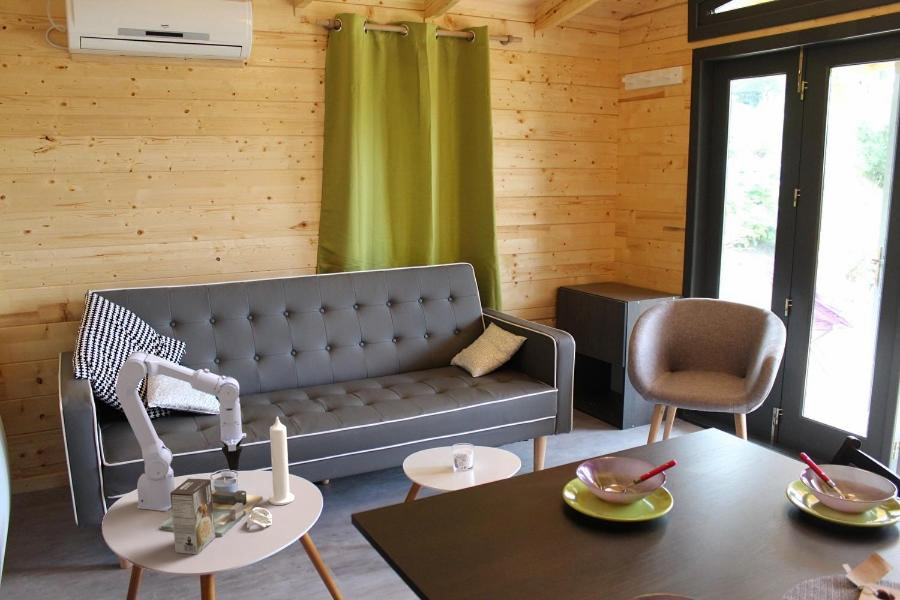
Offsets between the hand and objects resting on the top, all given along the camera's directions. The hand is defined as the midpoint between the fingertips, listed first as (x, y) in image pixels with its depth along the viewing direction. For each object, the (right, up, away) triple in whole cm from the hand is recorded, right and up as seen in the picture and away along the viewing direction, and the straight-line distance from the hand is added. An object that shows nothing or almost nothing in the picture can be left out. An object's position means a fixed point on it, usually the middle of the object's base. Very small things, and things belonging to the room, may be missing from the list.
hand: (233, 466), depth 218 cm
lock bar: (-1, -9, -5) cm, 10 cm away
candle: (+14, -10, -1) cm, 17 cm away
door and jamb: (-3, -11, -9) cm, 15 cm away
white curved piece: (+11, -13, -15) cm, 22 cm away
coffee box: (-2, -15, -26) cm, 30 cm away
